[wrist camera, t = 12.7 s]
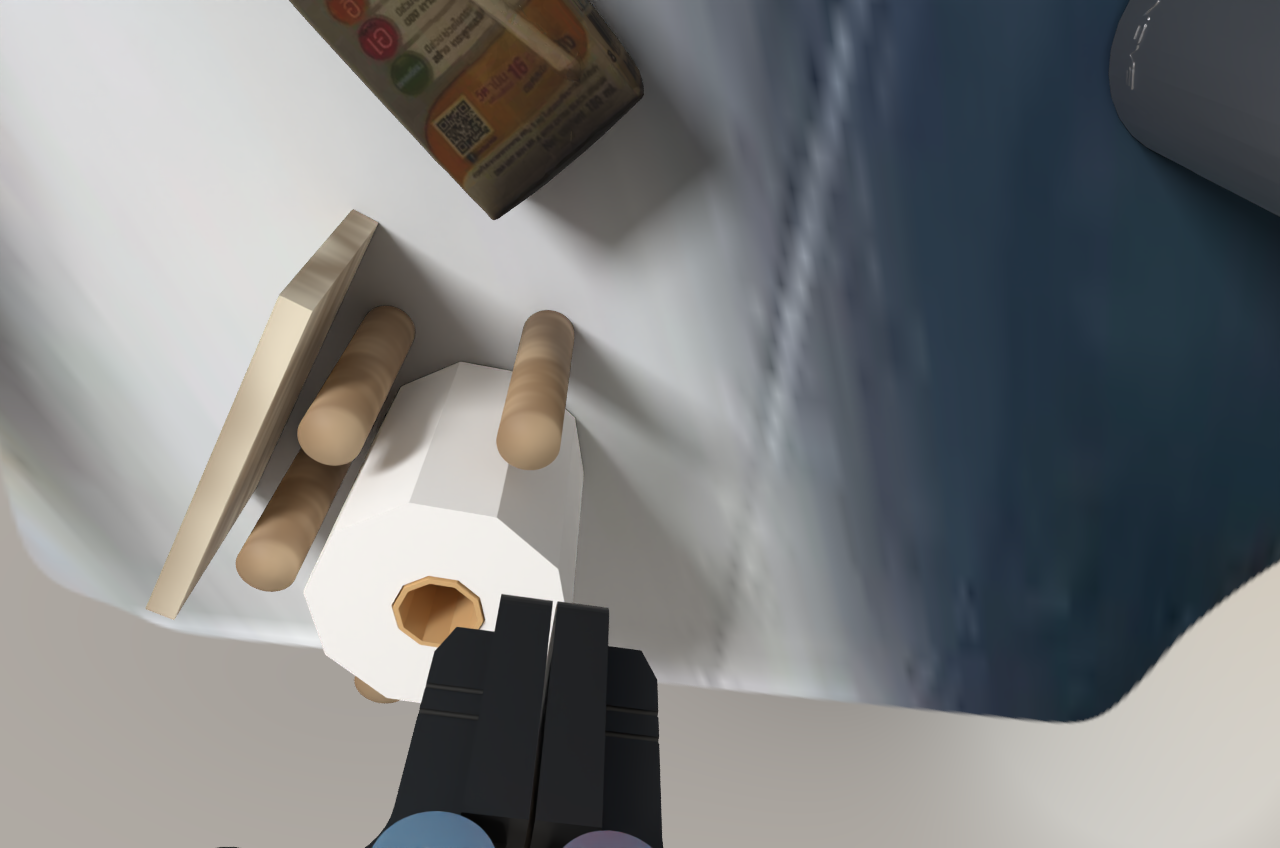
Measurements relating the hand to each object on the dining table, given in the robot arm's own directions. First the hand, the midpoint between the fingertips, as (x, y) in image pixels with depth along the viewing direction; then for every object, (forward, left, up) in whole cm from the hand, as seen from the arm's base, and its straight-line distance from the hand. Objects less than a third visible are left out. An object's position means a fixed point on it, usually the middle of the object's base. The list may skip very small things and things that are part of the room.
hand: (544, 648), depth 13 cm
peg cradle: (+8, +14, -31) cm, 35 cm away
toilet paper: (+4, +16, -31) cm, 35 cm away
